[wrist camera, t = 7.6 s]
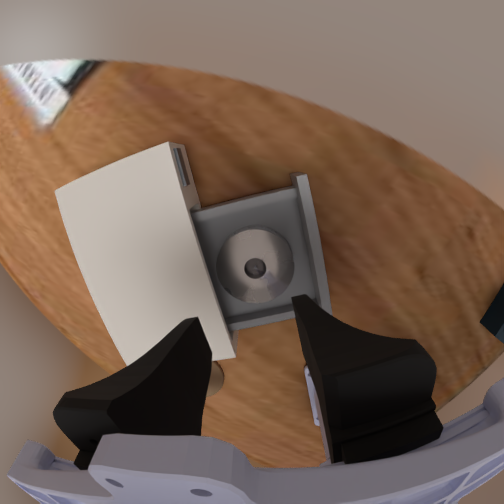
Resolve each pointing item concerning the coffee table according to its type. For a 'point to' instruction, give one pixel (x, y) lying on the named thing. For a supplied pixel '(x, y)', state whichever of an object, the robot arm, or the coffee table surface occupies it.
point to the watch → (495, 316)
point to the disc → (255, 264)
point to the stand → (215, 379)
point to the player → (144, 250)
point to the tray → (294, 232)
